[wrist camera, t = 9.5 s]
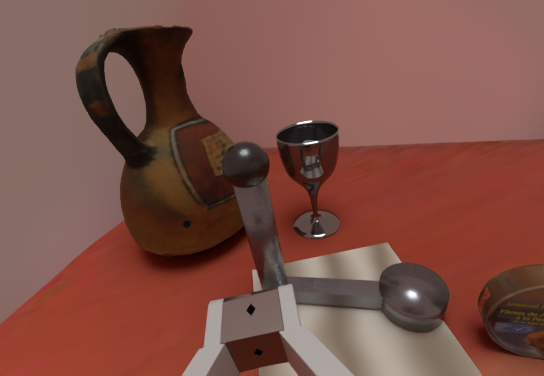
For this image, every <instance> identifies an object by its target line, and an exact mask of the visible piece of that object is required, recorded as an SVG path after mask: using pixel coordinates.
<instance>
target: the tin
mask: <svg viewBox="0 0 544 376" xmlns="http://www.w3.org/2000/svg"><path fill="white" fill-rule="evenodd" d="M478 307H479V311H480V314H481V316H482V318H483V321H484V323H485V327H486V330H487V333H488V335H489V336H490V337H491V339H492V340H493V341H494V342H495V343H496V344H498V345H499V346H501V347H502V348H504V349H505V350H508V351H510V352H512V353H515V354H517V355H521V356H525V357H529V358H535V359H543V360H544V264H539V265H528V266H522V267H517V268H514V269H510V270H508V271H505V272H503V273H501V274H499V275H497V276H495V277H494V278H492V279H491V280H489V281H488V282H487V283H486V284H485V286H484V288H483V290H482V291H481V293H480V296H479V299H478Z"/></svg>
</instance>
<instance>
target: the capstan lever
mask: <svg viewBox="0 0 544 376" xmlns="http://www.w3.org/2000/svg"><path fill="white" fill-rule="evenodd" d="M269 165H270V164H269V159H268V156H267V154H266V152H265V151H264V150H263V148H261V147H260V146H259V145H257V144H255V143H253V142H248V141H243V142H238V143H236V144H234V145H232V146H231V147H230V148H229V149H228V150H227V151H226V152H225V154H224V156H223V159H222V170H223V174H224V176H225V178H226V179H227V181H228V182H229V183H231V184H232V185H233V188H234V191H235V195H236V198H237V202H238V206H239V209H240V213H241V216H242V220H243V223H244V227H245V231H246V234H247V238H248V241H249V245H250V249H251V252H252V256H253V259H254V263H255V266H256V270H257V274H258V277H259V281H260V284H261V288H262V290H264V289H269V288H273V287H277V286H278V287H279V286H283V285H288V284H292V286H293V290H294V295H295V299H296V302H297V303H310V304H323V305H336V306H349V307H363V308H376V309H382V310H383V312H384V313H385V314H386V315H387V317H389V318H390V319H391V320H392V321H393V322H395V323H396V324H398V325H400V326H402V327H404V328H407V329H410V330H416V331H427V330H431V329H434V328H436V327H437V326H439V325H440V324H441V323H442V321H443V319H444V316H445V313H446V308H447V304H448V300H449V290H448V287H447V285H446V283H445V282H444V281H443V279H442V278H441V277H440V276H439V275H438V274H436V273H435V272H434V271H432V270H430V269H428V268H426V267H424V266H421V265H418V264H414V263H397V264H393V265H391V266H389V267H387V268H386V269H385V270H384V271H383V272H382V274H381V276H380V280H379V281H372V280H352V279H333V278H313V277H293V276H286V271H285V266H284V262H283V257H282V252H281V247H280V242H279V237H278V232H277V227H276V222H275V217H274V212H273V207H272V202H271V198H270V193H269V188H268V183H267V178H266V177H267V175H268V172H269Z"/></svg>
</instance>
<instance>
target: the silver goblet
mask: <svg viewBox="0 0 544 376" xmlns="http://www.w3.org/2000/svg"><path fill="white" fill-rule="evenodd" d="M276 139H277V146H278V150H279V155H280V158H281V161H282V164H283V166H284V168H285V171H286V172H287V174H288V176H289V177H290V178H291V179H292V180H294V181H295V182H297V183H298V184H299V185H301V186H302V187H304V188H305V189H306V191H307V192H308V194H309V197H310V200H311V204H312V210H309V211H306V212H304V213H302V214H300V215H299V216H298V217H297V218H296V219H295V221H294V229H295V231H296V232H297V233H298V234H300V235H301V236H303V237H306V238H311V239H319V238H325V237H328V236H330V235H332V234H334V233H335V232H336V231H337V230H338V228H339V226H340V220H339V218H338V217H337V216H336V215H335V214H334V213H332V212H330V211H327V210H322V209H317V198H318V191H319V189H320V187H321V186H322V185H323V184H324V182H325V181H326V180H327V179H328V178H329V177H330V176H331V175H332V173H333V172H334V170H335V167H336V164H337V159H338V152H339V130H338V126H337V125H336V124H334V123H332V122H327V121H307V122H301V123H296V124H292V125H289V126H287V127H285V128H283V129H281V130H280V131H279V132H278V133H277V134H276Z"/></svg>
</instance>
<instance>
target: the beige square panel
mask: <svg viewBox="0 0 544 376" xmlns="http://www.w3.org/2000/svg"><path fill="white" fill-rule="evenodd" d="M397 263H402V262H401V261H400V259H399V258H398V257H397V255H396V254H395V252H394V251H393V250H392V248H391V247H390V245H389V244H388V243H383V244H378V245H373V246H368V247H363V248H358V249H353V250H349V251H344V252H339V253H334V254H329V255H324V256H319V257H314V258H310V259H305V260H300V261H295V262H290V263H285V264H284V266H285V271H286V276H293V277H313V278H333V279H352V280H372V281H379V280H380V276H381V274H382V272H383V271H384V270H385V269H386V268H387V267H389V266H391V265H393V264H397ZM252 272H253V288H254V292H256V291H260V290H262V288H261V284H260V281H259V277H258V274H257V270H252ZM296 303H297V302H296ZM297 308H298V312H299V316H300V321H301V326H306V327H307V328H308V329H309V330H310V331H311V332H312V333H313V334H314V335H315V336H316V337H317V338H318V339H319V340H320V341H321V342H322V343H323V344H324V345H325V347H326V348H327V349H328V350H329V351H330V352H331V353H332V354H333V355H334V356H335V357H336V358H337V359H338V360H339V361H340V362H341V363H342V364H343V365H344V366H345V367H346V368H347V369H348V370H349V371H350V372H351V373H352V374H353V375H354V376H482V374H481V373H480V372H479V370H478V369H477V367H476V366H475V365H474V363H473V362H472V360H471V359H470V357H469V356H468V355H467V353H466V352H465V350H464V349H463V348H462V346H461V345H460V343H459V342H458V341H457V339H456V338H455V336H454V335H453V334H452V332H451V331H450V329H449V328H448V327H447V325H446V324H445V322H444V321H442V323H441V324H440V325H439V326H437V327H436V328H434V329H431V330H427V331H416V330H410V329H407V328H404V327H402V326H400V325H398V324H396V323H395V322H393V321H392V320H391V319H390V318H389V317H387V315H386V314H385V313H384V312H383V310H382V309H376V308H363V307H349V306H336V305H323V304H310V303H297ZM258 369H259V376H298V375H297V373H296V372H295V371H294V369H293V368H292V367H291V365H290V364H289V362H287V363H281V364H276V365H270V366H265V367H261V368H258Z"/></svg>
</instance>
